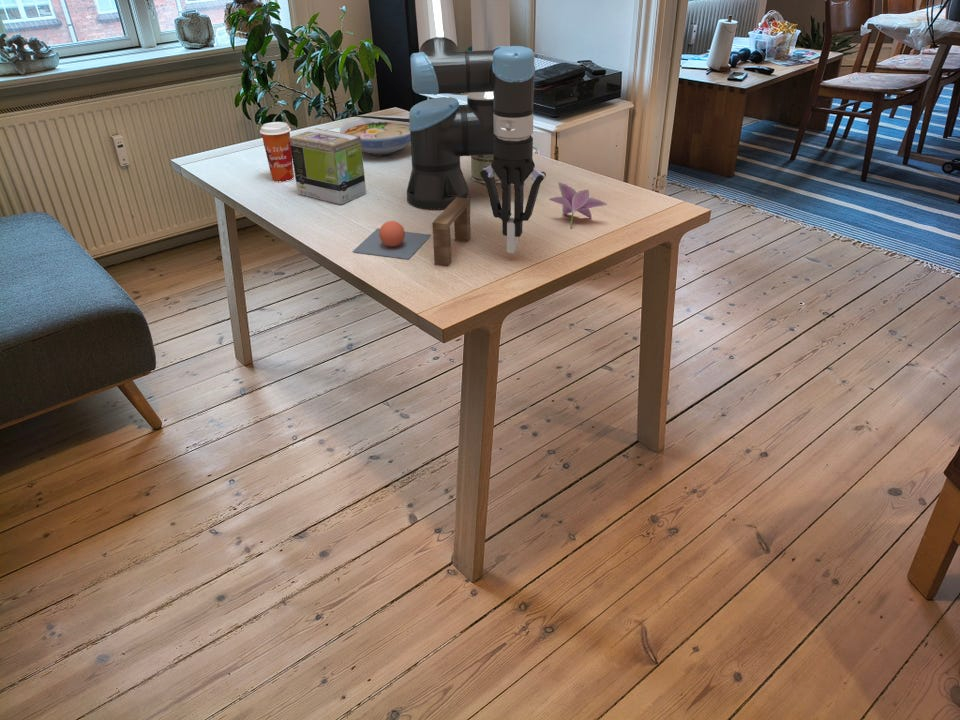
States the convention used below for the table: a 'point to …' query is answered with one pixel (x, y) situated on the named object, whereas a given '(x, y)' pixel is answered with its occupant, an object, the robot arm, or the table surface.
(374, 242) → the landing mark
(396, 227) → the ball
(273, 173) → the paper cup
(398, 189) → the table surface
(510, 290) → the table surface
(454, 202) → the bridge
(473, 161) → the coffee can
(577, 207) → the lily
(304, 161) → the tea box
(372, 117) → the ramen bowl
